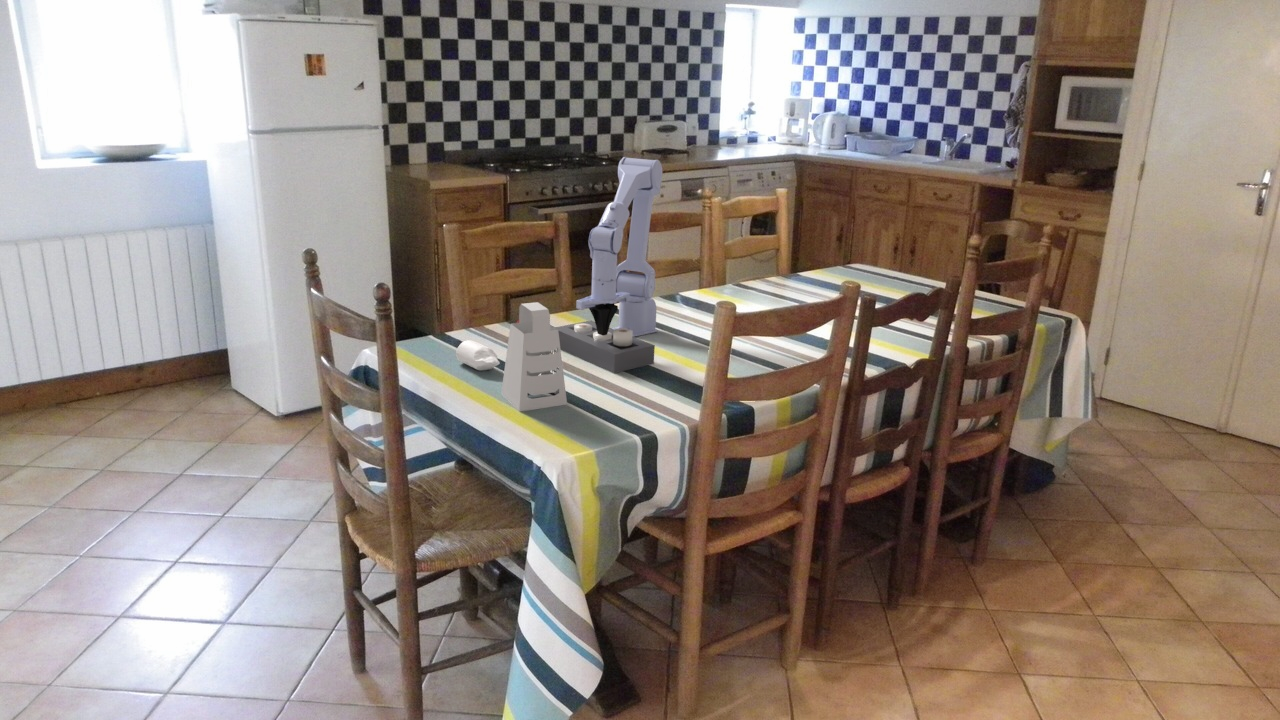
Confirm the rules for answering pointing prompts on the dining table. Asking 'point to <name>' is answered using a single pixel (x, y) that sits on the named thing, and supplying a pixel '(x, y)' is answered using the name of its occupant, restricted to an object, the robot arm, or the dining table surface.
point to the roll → (476, 355)
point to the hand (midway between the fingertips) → (602, 334)
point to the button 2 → (622, 337)
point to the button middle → (602, 336)
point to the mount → (605, 349)
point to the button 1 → (582, 328)
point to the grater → (533, 361)
